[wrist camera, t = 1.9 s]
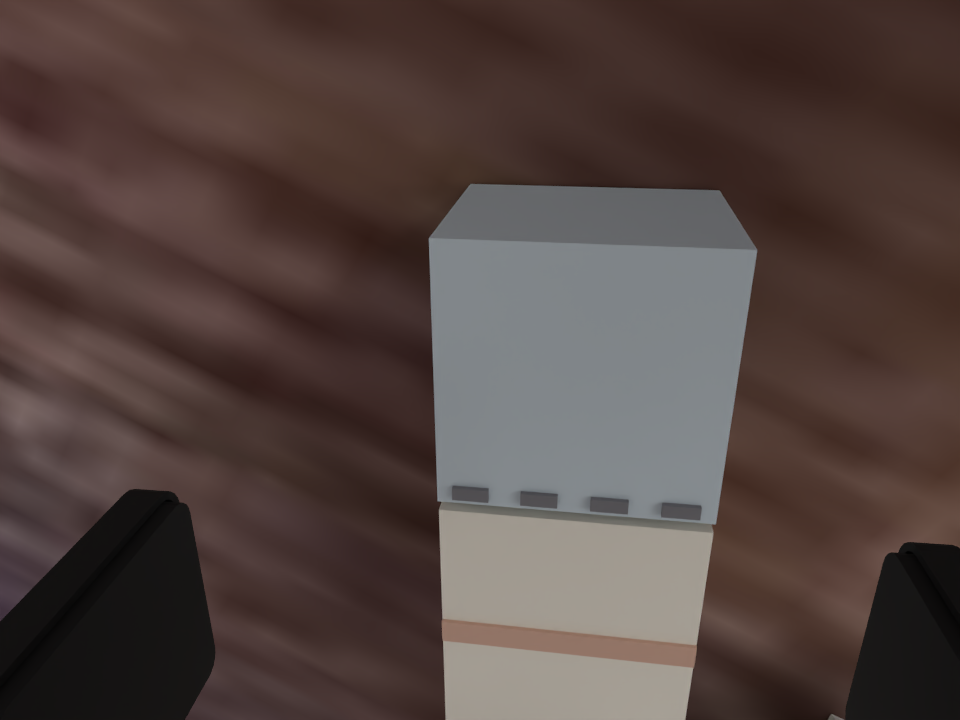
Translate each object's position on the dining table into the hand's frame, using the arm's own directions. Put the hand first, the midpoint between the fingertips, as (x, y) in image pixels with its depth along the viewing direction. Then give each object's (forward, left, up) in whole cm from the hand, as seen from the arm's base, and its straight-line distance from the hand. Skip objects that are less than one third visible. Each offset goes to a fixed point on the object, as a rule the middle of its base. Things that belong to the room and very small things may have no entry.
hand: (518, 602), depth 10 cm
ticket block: (-1, +11, -11) cm, 15 cm away
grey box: (-1, 0, -11) cm, 11 cm away
